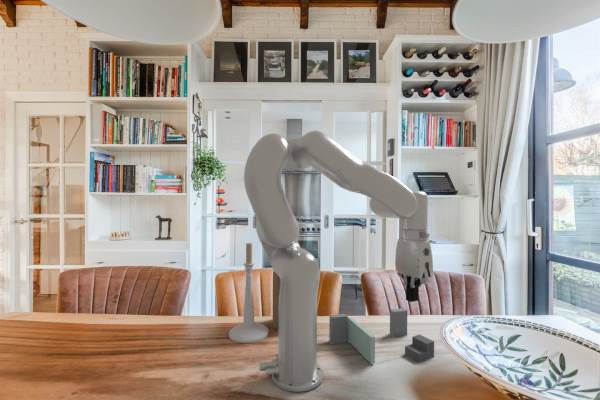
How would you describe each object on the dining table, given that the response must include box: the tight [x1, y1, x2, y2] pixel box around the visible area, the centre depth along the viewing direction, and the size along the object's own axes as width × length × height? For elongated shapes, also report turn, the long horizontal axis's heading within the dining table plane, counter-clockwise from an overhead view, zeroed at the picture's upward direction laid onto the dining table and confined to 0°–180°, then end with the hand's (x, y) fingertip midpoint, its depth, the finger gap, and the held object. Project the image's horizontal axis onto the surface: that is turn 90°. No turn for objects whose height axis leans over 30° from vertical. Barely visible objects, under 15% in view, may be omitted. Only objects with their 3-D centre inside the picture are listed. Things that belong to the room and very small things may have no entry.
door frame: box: [328, 307, 408, 345], centre depth 96 cm, size 26×2×8 cm, turn 104°
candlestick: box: [228, 242, 269, 344], centre depth 98 cm, size 13×13×30 cm
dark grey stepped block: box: [404, 334, 435, 363], centre depth 85 cm, size 6×5×4 cm
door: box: [346, 315, 376, 365], centre depth 87 cm, size 15×1×7 cm, turn 17°
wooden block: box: [272, 270, 281, 330], centre depth 106 cm, size 10×10×20 cm
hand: (412, 300), depth 85 cm, fingers closed
